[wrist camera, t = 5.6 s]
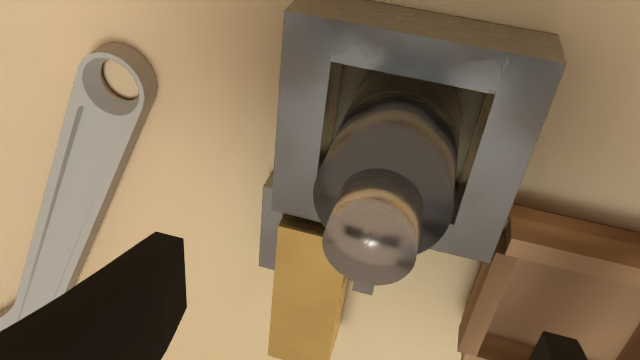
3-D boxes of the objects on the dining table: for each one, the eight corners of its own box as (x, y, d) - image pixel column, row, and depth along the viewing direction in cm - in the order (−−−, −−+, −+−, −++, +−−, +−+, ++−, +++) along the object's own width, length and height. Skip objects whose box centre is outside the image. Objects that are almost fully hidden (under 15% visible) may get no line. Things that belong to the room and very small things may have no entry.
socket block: (557, 35, 16) (566, 63, 14) (462, 299, 22) (459, 342, 21) (284, -15, 17) (260, 5, 15) (266, 250, 23) (248, 286, 22)
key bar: (362, 202, 21) (348, 243, 19) (339, 327, 25) (326, 372, 23) (297, 187, 21) (278, 225, 19) (285, 312, 25) (267, 355, 23)
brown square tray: (697, 241, 18) (719, 287, 17) (617, 362, 22) (628, 411, 20) (500, 196, 19) (501, 236, 18) (455, 320, 23) (453, 363, 21)
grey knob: (474, 75, 17) (465, 206, 12) (446, 171, 19) (429, 322, 14) (360, 53, 18) (300, 168, 12) (345, 149, 20) (288, 285, 14)
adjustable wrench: (110, 19, 20) (81, 35, 19) (257, 125, 21) (240, 148, 20) (-24, 338, 34) (-46, 361, 33) (68, 392, 35) (50, 417, 34)
